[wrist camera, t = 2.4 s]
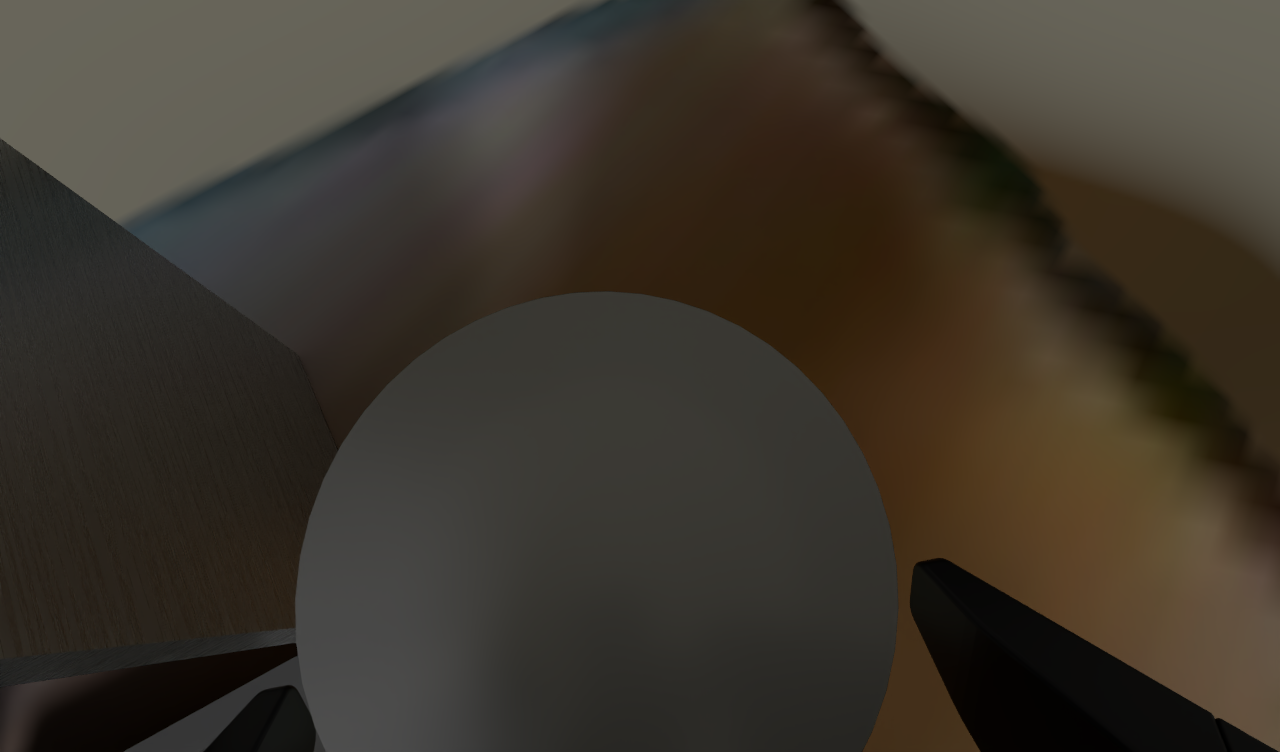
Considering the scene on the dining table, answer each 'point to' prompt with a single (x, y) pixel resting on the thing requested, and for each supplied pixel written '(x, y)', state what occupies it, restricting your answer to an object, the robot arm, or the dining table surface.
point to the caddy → (138, 451)
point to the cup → (597, 547)
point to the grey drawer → (222, 714)
